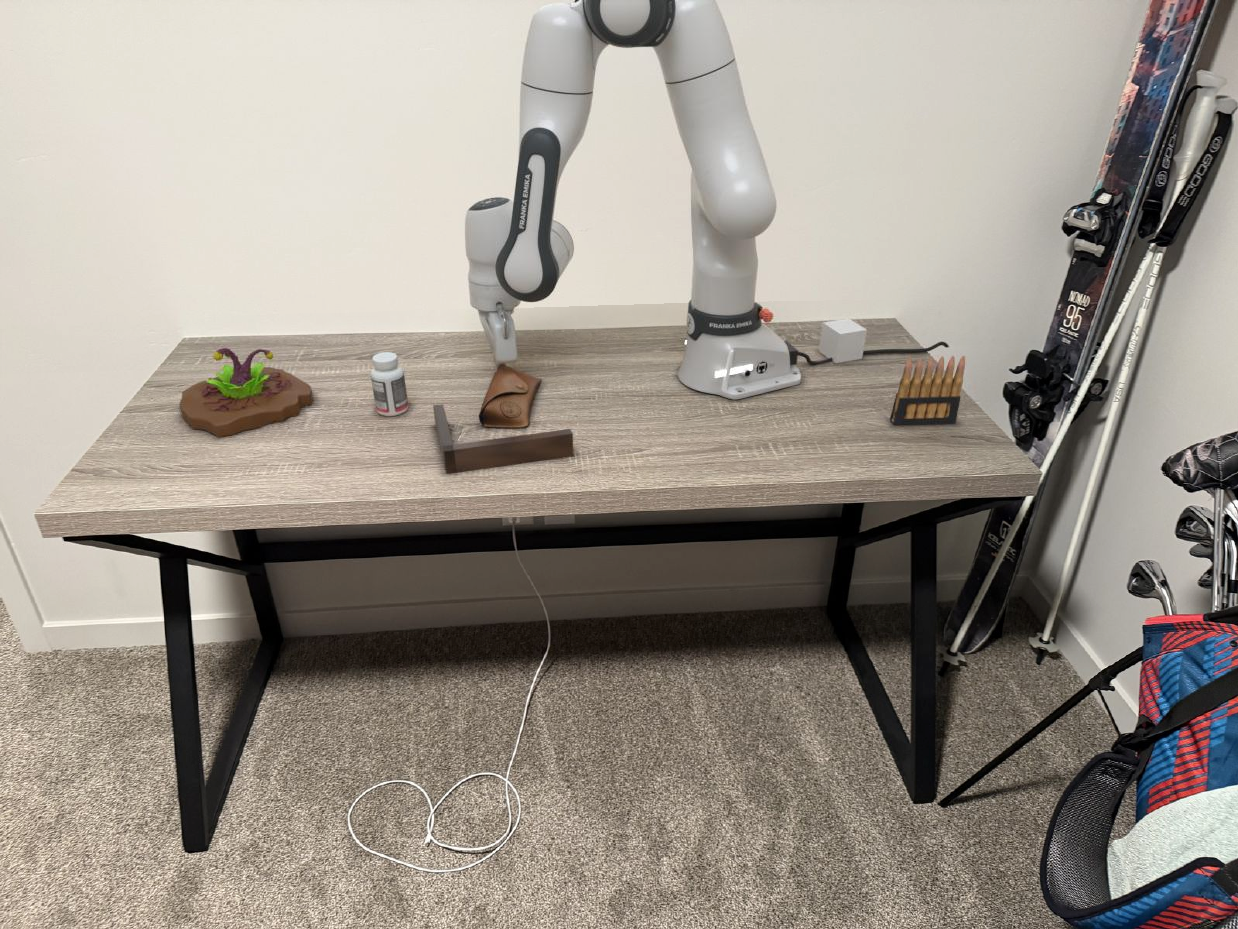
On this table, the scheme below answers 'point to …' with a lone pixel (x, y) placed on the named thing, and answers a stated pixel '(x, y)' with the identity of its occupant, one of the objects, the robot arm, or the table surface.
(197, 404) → the plant
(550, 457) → the bracket
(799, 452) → the table surface
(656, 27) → the robot arm
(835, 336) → the white cube
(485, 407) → the sunglasses case
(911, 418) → the ammunition clip
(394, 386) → the pill bottle
